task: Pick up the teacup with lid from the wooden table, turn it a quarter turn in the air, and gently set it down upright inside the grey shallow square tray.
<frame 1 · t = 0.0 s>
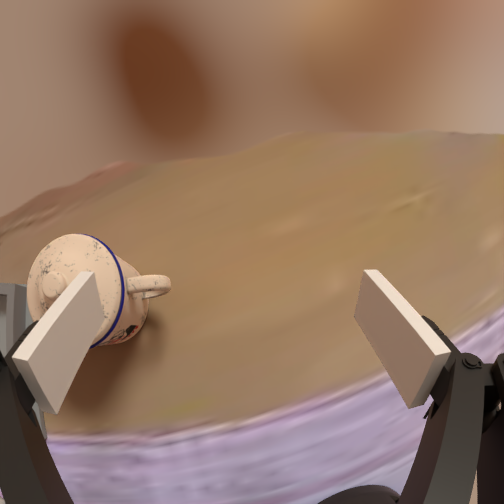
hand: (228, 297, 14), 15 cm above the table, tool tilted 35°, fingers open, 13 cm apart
teacup with lid: (123, 300, 28), on the table
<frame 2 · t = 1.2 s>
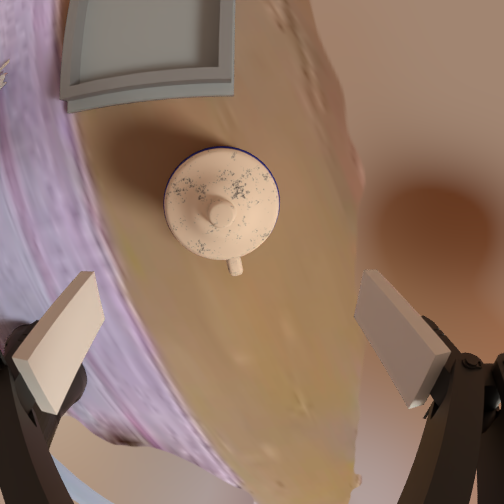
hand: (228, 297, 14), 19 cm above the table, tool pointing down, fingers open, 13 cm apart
teacup with lid: (224, 199, 32), on the table
grey shallow square tray: (148, 32, 24), on the table
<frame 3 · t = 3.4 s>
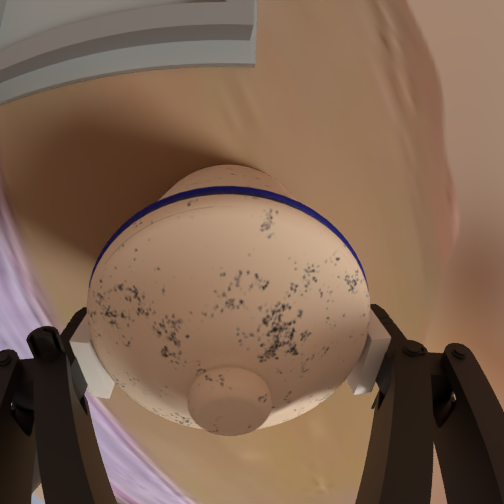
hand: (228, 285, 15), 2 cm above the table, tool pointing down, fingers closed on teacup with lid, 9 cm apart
teacup with lid: (232, 263, 18), on the table, touching gripper
when the fingers open (4 cm above the table, at t = 10.3 s): teacup with lid drops 1 cm, resting on grey shallow square tray.
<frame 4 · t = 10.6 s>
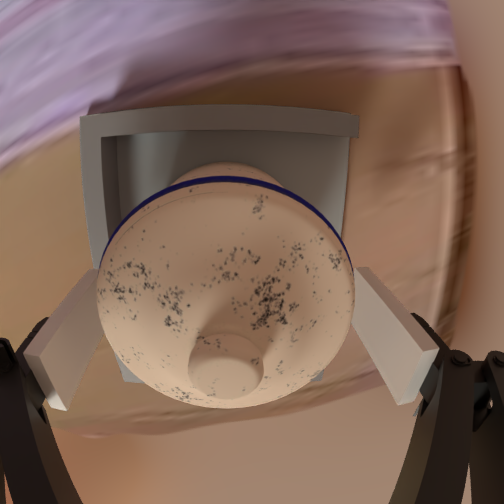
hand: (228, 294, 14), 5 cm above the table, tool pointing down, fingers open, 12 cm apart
teacup with lid: (229, 255, 19), point 1 cm above the table, touching grey shallow square tray
grey shallow square tray: (212, 251, 19), on the table
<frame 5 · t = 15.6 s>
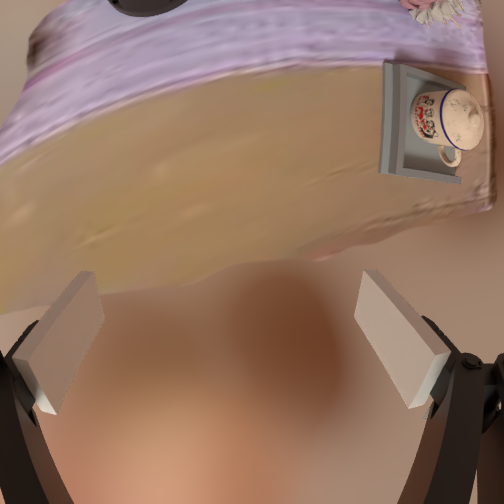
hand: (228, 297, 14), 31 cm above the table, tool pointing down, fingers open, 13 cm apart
teacup with lid: (429, 126, 40), point 1 cm above the table, touching grey shallow square tray
grey shallow square tray: (422, 125, 40), on the table
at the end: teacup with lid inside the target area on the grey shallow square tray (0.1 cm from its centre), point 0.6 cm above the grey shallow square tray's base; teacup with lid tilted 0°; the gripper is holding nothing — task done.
